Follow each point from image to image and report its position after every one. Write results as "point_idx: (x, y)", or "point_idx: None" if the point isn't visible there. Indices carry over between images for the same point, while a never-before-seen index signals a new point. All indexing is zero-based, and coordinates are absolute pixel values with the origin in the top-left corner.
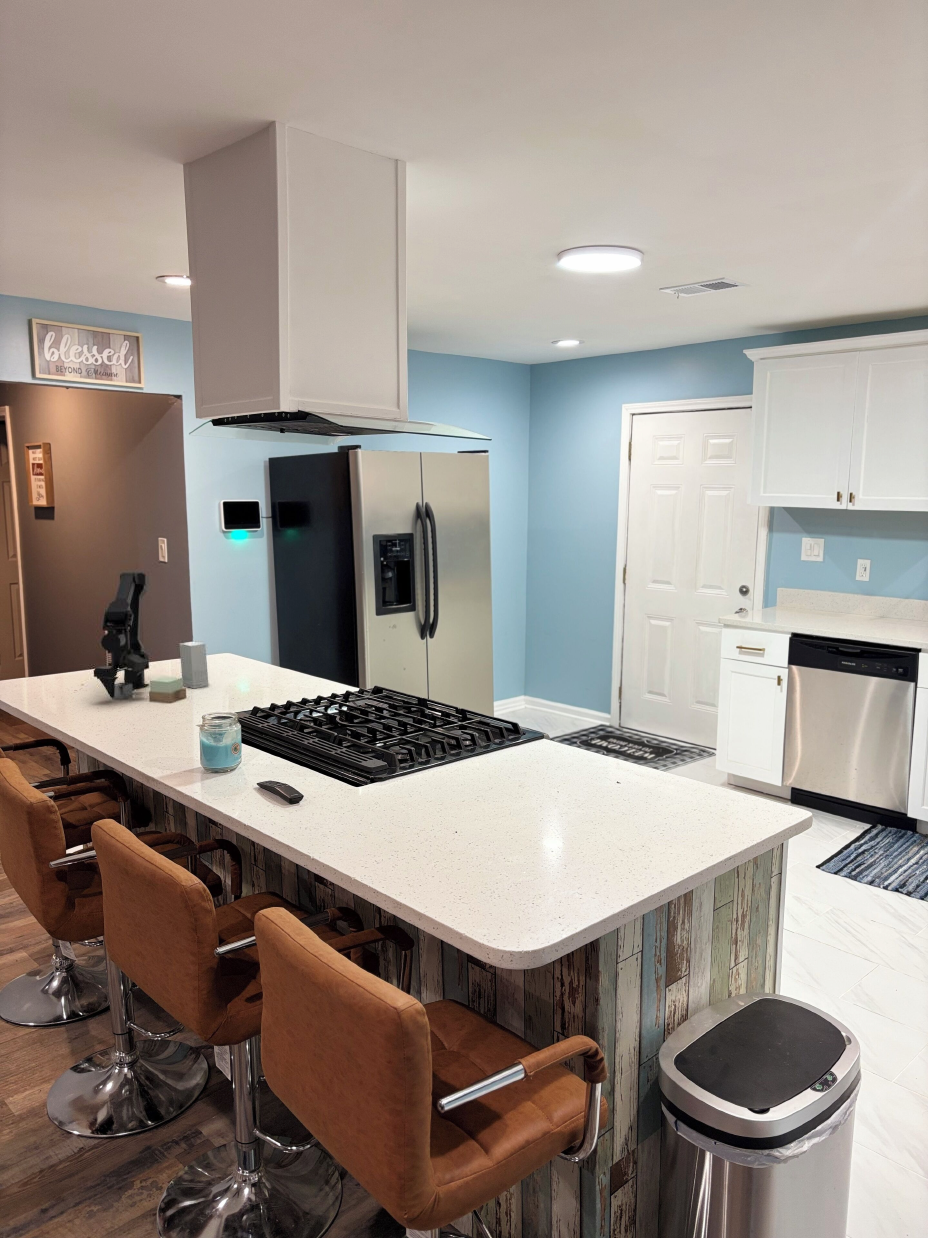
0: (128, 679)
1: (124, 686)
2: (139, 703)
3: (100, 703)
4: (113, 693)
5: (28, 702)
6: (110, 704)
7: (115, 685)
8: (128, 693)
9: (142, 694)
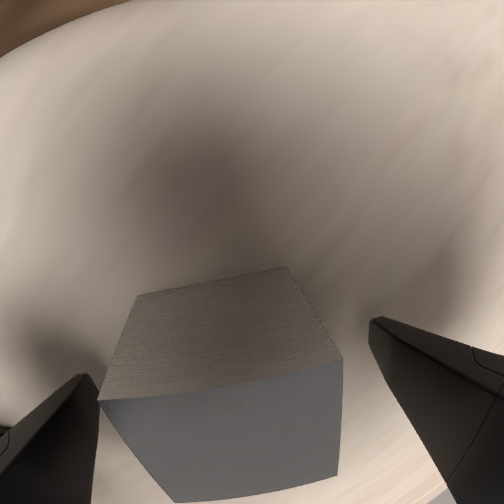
0: (77, 499)
1: (301, 360)
2: (317, 3)
3: (441, 313)
4: (409, 329)
5: (439, 482)
6: (450, 222)
7: (333, 450)
8: (203, 309)
9: (29, 301)
